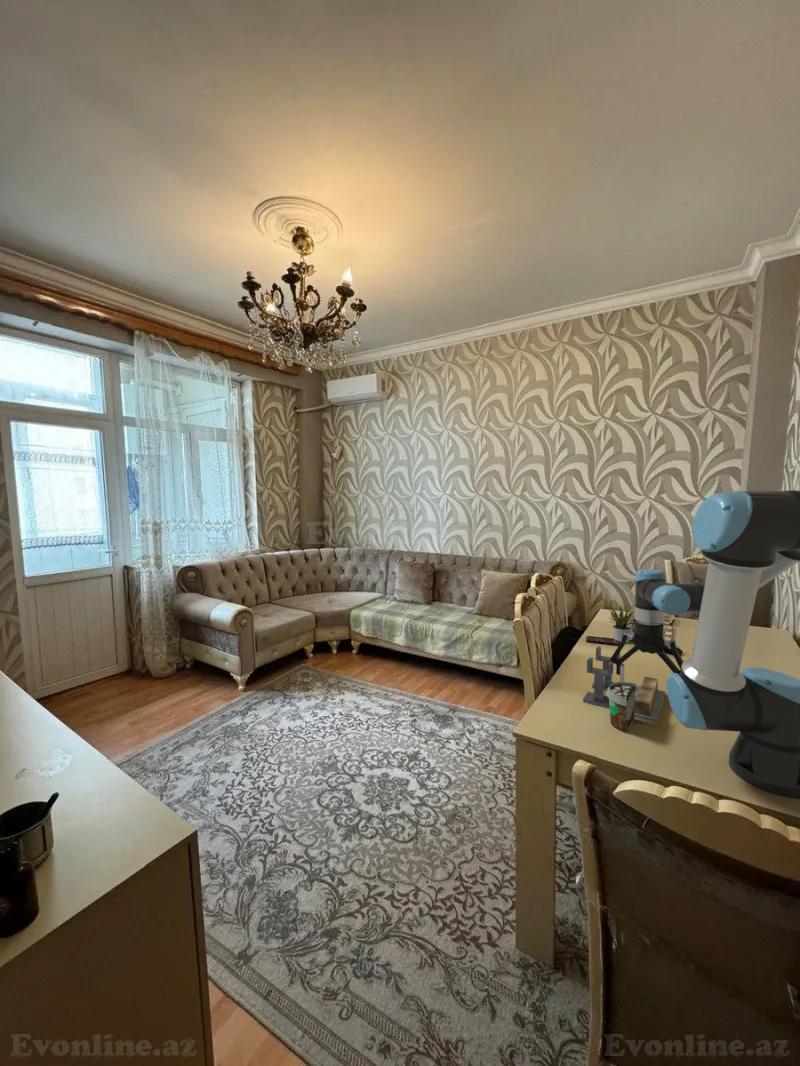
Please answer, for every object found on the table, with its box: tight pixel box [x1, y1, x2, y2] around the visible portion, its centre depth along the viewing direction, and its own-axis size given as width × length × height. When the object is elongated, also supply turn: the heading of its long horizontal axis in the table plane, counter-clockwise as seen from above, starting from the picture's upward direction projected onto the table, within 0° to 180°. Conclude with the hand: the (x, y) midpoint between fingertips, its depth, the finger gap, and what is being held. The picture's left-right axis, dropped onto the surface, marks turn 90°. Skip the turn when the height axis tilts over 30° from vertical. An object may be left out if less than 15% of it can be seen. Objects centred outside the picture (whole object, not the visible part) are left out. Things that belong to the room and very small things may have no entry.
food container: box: [605, 681, 637, 734], centre depth 121 cm, size 12×6×10 cm, turn 140°
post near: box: [582, 656, 614, 710], centre depth 133 cm, size 8×6×13 cm
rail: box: [635, 675, 659, 717], centre depth 131 cm, size 4×20×4 cm, turn 144°
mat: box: [634, 684, 667, 724], centre depth 131 cm, size 21×8×1 cm, turn 144°
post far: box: [591, 645, 621, 692], centre depth 142 cm, size 8×6×13 cm
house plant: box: [607, 604, 636, 644], centre depth 186 cm, size 14×14×16 cm
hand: (646, 690), depth 131 cm, fingers open, 13 cm apart
